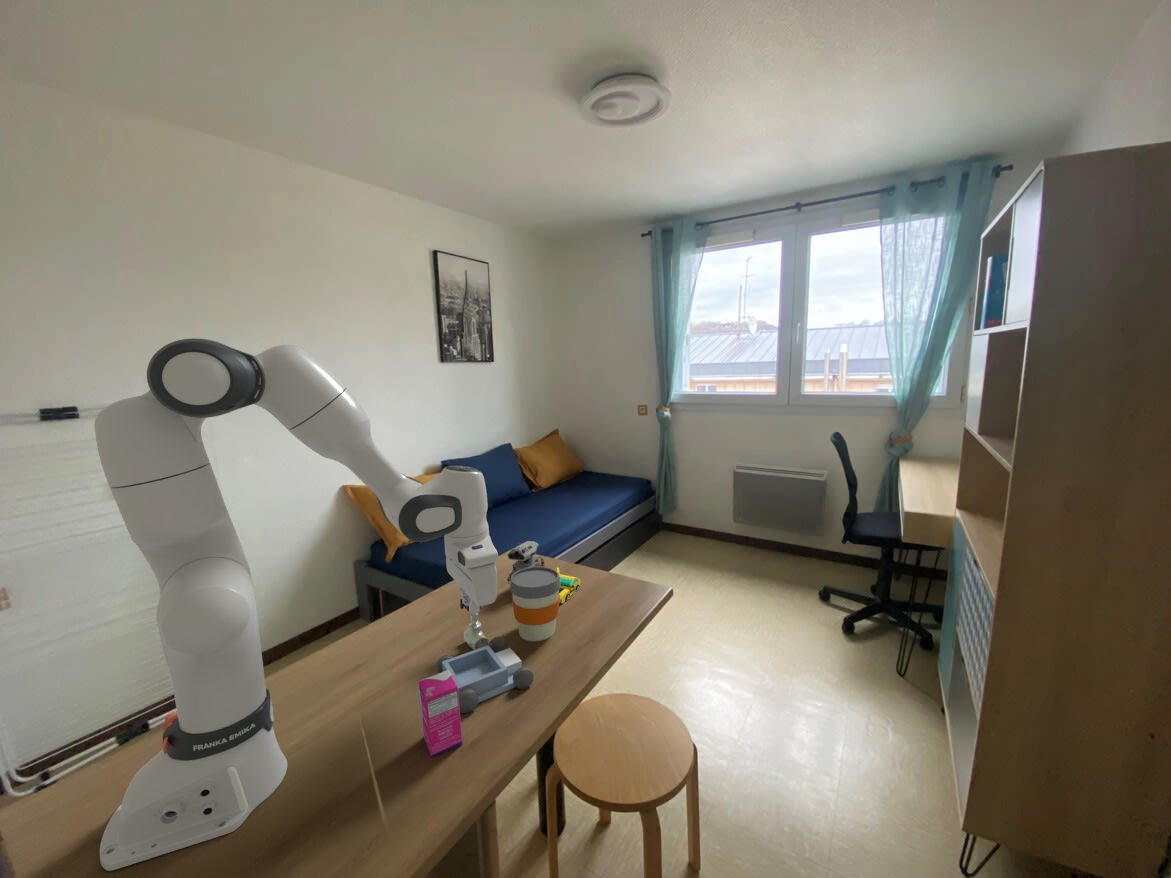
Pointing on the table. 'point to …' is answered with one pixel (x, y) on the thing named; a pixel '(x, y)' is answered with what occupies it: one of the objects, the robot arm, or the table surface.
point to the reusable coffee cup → (535, 601)
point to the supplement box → (440, 712)
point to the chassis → (485, 673)
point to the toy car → (567, 586)
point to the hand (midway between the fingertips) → (471, 607)
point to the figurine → (524, 557)
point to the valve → (474, 631)
